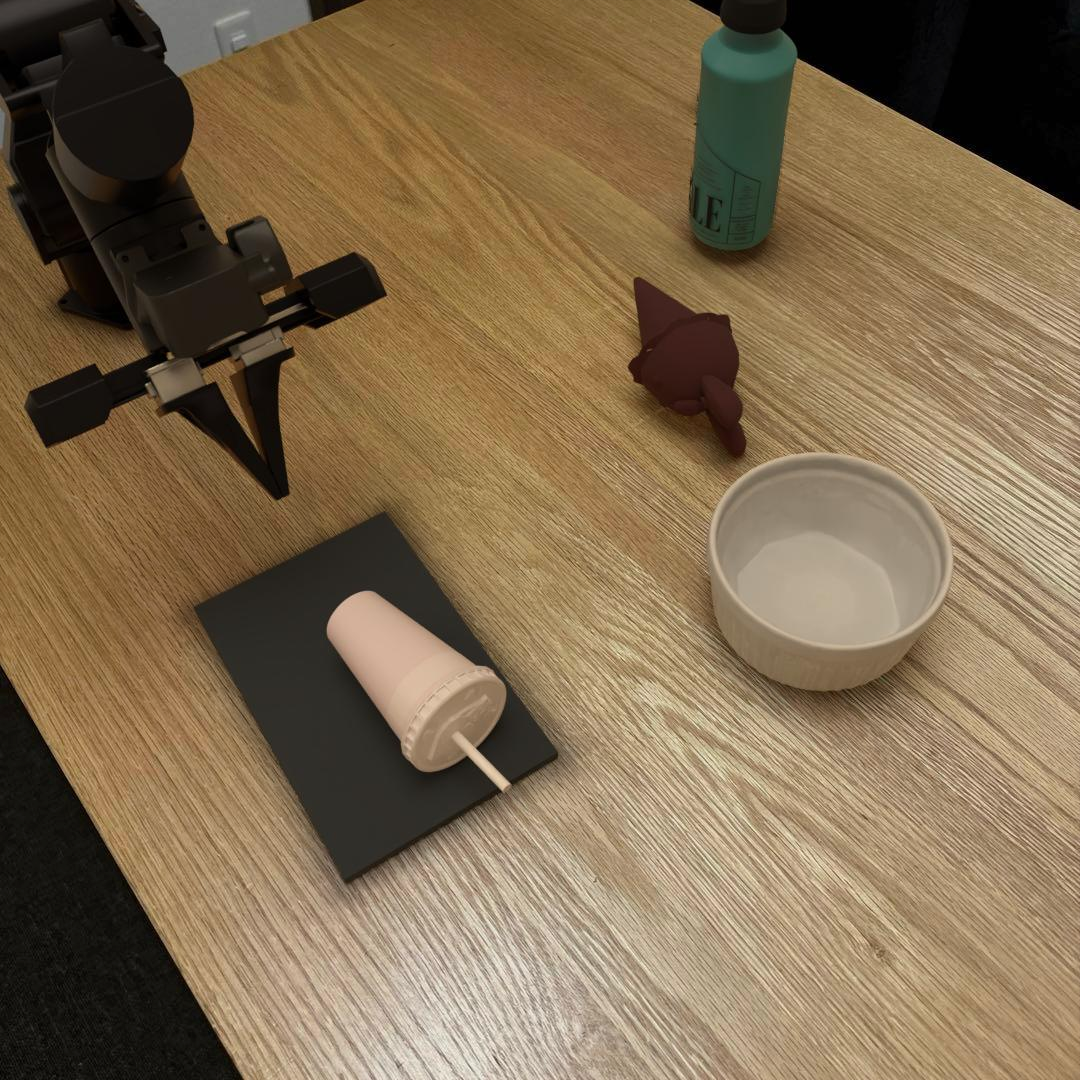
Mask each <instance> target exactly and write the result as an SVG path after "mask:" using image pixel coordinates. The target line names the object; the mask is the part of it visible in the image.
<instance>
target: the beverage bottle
mask: <svg viewBox="0 0 1080 1080" xmlns="http://www.w3.org/2000/svg"><path fill="white" fill-rule="evenodd" d="M719 11H720V12H719V18H720V21H721V23H722V24H723V26H721V27H720V28H718V29H716V30H715V31H714V32H713V33H711V34H710V35H709V36H708V37H707V38H706V39H705V41H704V42H703V44H702V46H701V49H700V51H701V52H700V61H701V62H700V74H699V75H700V76H699V85H697V86H698V89H699V91H698V94H696V98H697V99H696V102H695V105H696V106H697V107H695V108H694V109H695V113H696V114H695V116H694V119H696V122H694V123H693V125H694V126H695V136H694V146H693V153H692V155H693V162H692V164H691V166H690V171H691V172H690V173H689V174H690V178H689V187H688V188H689V190H688V203H687V204H688V205H687V206H688V213H689V214H687V217H686V218H688V220H687V221H688V224H689V226H690V228H691V231H692V233H693V234H694V236H695V237H696V239H698V240H699V241H700V242H702V243H703V244H706V245H707V246H709V247H711V248H714V249H717V250H724V251H741V250H747V249H750V248H752V247H755V246H757V245H759V244H760V243H762V242H763V241H764V240H765V239H766V238H767V237H768V235H769V233H770V231H771V229H773V228H774V226H775V224H776V222H774V221H776V217H777V216H776V215H777V210H778V203H779V197H780V196H779V195H780V186H779V183H781V180H782V179H780V178H782V176H783V175H782V173H783V171H781V169H783V168H784V165H783V164H784V163H783V162H784V161H785V158H783V155H784V154H785V152H784V148H786V145H785V144H786V143H787V142H786V137H785V136H786V128H787V120H788V115H789V109H790V107H789V106H790V100H791V93H792V88H793V87H792V86H793V79H794V73H795V68H796V67H795V66H796V64H797V60H798V50H797V47H796V44H795V43H794V42H793V40H792V39H791V37H790V36H789V35H788V34H786V32H784V31H783V30H782V29H781V27H783V25H784V24H785V22H786V20H787V11H788V9H787V0H722V2H721V5H720V10H719Z"/></svg>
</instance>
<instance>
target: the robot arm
mask: <svg viewBox="0 0 1080 1080" xmlns="http://www.w3.org/2000/svg"><path fill="white" fill-rule="evenodd" d="M167 52H168V48H167V45H166V41H165V39H164V36H163V32H162V29H161V27H160V26H159V25H158V24H157V22H155V21H154V20H153V18H152V17H151V16H150V15H149V14H148V13H147V11H145V9H144V8H143V7H142V6H141V5H140V4H139V2H138V1H136V0H0V110H1V111H2V112H3V113H4V119H3V120H4V121H3V132H2V133H3V134H2V145H1V146H2V147H1V158H2V161H3V162H4V165H5V166H6V169H7V170H8V173H9V174H10V176H11V179H12V181H13V184H10V185H7V186H6V187H5V188H6V192H7V196H8V201H9V204H10V206H11V208H12V210H13V212H14V214H15V216H16V218H17V220H18V222H19V224H20V226H21V228H22V230H23V232H24V234H25V235H26V237H27V239H28V240H29V241H30V243H31V245H32V247H33V249H34V250H35V252H36V254H37V255H38V257H39V259H40V260H41V262H42V264H43V265H44V266H47V265H50V264H52V263H53V262H54V261H56V263H57V265H58V267H59V269H60V272H61V274H62V276H63V278H64V280H65V283H66V285H67V287H68V290H66V292H65V293H63V295H62V296H61V297H60V298H58V300H57V303H56V304H57V307H58V309H59V310H60V311H62V312H65V313H69V314H72V315H75V316H78V317H82V318H84V319H88V320H92V321H94V322H98V323H101V324H104V325H107V326H110V327H114V328H117V329H120V330H123V331H129V330H131V329H134V331H135V333H136V336H137V338H138V339H139V341H140V343H141V345H142V346H143V349H144V351H145V352H146V356H144V357H141V358H138V359H137V360H134V361H132V362H129V363H127V364H125V365H122V366H121V367H118V368H116V369H113V370H111V371H109V372H107V373H106V372H105V373H104V374H102V372H101V370H100V368H99V367H98V365H97V363H96V362H94V363H91V364H89V365H87V366H84V367H82V368H80V369H78V370H75V371H73V372H71V373H68V374H66V375H64V376H60V377H58V378H57V379H54V380H52V381H50V382H48V383H45V384H43V385H40V386H38V387H36V388H33V389H31V390H28V393H27V397H26V399H25V403H24V406H23V408H24V410H25V412H26V414H27V417H29V419H30V421H31V423H32V425H33V427H34V429H35V430H36V432H37V434H38V437H39V438H40V440H41V441H42V443H43V445H44V447H45V449H48V450H49V449H51V448H54V447H56V446H58V445H61V444H63V443H65V442H68V441H69V440H72V439H74V438H77V437H78V436H79V437H80V436H81V435H83V434H85V433H87V432H89V431H92V430H94V429H96V428H98V427H102V426H104V425H105V424H106V422H107V421H108V420H109V417H110V414H111V411H113V410H114V409H117V408H119V407H121V406H124V405H126V404H128V403H131V402H133V401H135V400H137V399H139V398H142V397H144V396H147V398H148V400H152V399H153V401H154V402H155V404H156V407H157V408H155V409H154V411H155V413H156V415H157V417H158V418H159V419H161V418H163V417H166V416H167V415H170V414H172V413H177V414H178V415H180V416H181V417H182V418H183V419H185V420H187V421H188V422H189V423H190V424H192V425H193V426H194V427H195V428H197V429H198V430H199V431H201V432H202V433H203V434H204V435H205V436H207V437H208V438H209V439H210V440H212V441H213V442H214V443H215V444H217V445H218V447H220V448H221V449H222V450H223V451H224V452H225V453H226V454H228V456H229V457H230V458H231V459H232V460H233V461H234V462H235V463H236V464H237V465H238V466H239V467H240V468H241V469H242V470H243V471H244V472H245V473H246V474H247V475H248V476H249V477H250V478H251V479H252V480H253V481H254V482H255V483H256V484H257V485H258V486H259V487H260V488H261V489H262V490H263V491H264V492H265V493H266V494H267V495H268V496H269V497H270V498H271V499H272V500H274V501H277V502H278V501H280V500H282V499H283V498H287V497H288V496H290V493H291V492H290V485H289V484H290V483H289V478H288V471H287V464H286V457H285V451H284V450H285V449H284V443H283V436H282V432H281V431H282V428H281V421H280V406H279V405H280V403H279V402H280V398H279V397H280V396H279V395H280V394H279V387H280V378H281V377H280V376H281V367H282V365H283V363H285V362H286V361H288V360H291V359H293V358H295V357H296V351H295V348H294V346H291V347H288V348H287V346H286V344H285V342H284V340H285V339H286V336H285V333H288V332H291V331H292V330H296V329H297V328H300V327H302V326H304V327H306V328H309V329H312V330H314V331H316V330H318V329H320V328H323V327H325V326H327V325H329V324H331V323H334V322H336V321H339V320H340V319H343V318H345V317H347V316H350V315H353V314H354V313H357V312H358V311H360V310H363V309H365V308H367V307H369V306H370V305H373V304H375V303H377V302H378V301H380V300H382V299H384V298H386V297H387V296H388V293H387V290H386V288H385V287H384V285H383V282H382V280H381V278H380V275H379V274H378V271H377V269H376V267H375V266H374V264H373V263H372V262H371V261H370V260H369V258H368V257H365V256H364V255H362V254H359V253H358V252H356V251H353V252H350V253H347V254H346V255H343V256H341V257H338V258H335V259H334V260H332V261H329V262H327V263H325V264H322V265H319V266H317V267H315V268H313V269H310V270H308V271H306V272H303V273H301V274H299V275H296V276H295V277H294V274H293V271H292V269H291V266H290V263H289V261H288V258H287V255H286V252H285V251H284V249H283V247H282V245H281V243H280V241H279V239H278V237H277V235H276V233H275V231H274V229H273V227H272V225H271V223H270V221H269V219H268V218H267V217H265V216H263V215H261V214H259V215H258V214H257V215H256V216H253V217H251V218H249V219H246V220H244V221H241V222H239V223H236V224H233V225H230V226H229V227H227V228H226V229H225V235H226V240H227V242H225V243H223V242H221V240H220V239H219V238H218V237H217V236H216V234H215V233H214V231H213V228H212V226H211V225H210V223H209V222H208V220H207V219H206V217H205V214H204V212H203V210H202V209H201V206H200V205H199V202H198V200H197V199H196V196H195V193H193V190H192V188H191V186H190V183H189V182H188V180H187V177H186V175H185V173H184V171H183V170H182V168H183V165H184V162H185V159H186V156H187V153H188V150H189V148H190V145H191V143H192V139H193V135H194V129H195V113H194V106H193V103H192V99H191V95H190V93H189V91H188V90H189V89H188V88H187V87H186V84H185V83H184V81H183V80H182V78H181V77H180V76H178V75H177V74H176V73H175V72H174V71H173V70H172V69H171V68H170V66H169V65H168V64H166V63H165V60H166V55H165V53H167ZM280 288H282V289H283V293H284V296H282V297H280V298H277V299H275V300H273V301H270V302H268V303H266V304H264V301H263V299H262V297H263V296H264V295H266V294H269V293H272V292H273V291H275V290H278V289H280ZM169 353H170V354H171V356H172V357H173V358H170V359H169V358H168V356H169ZM225 360H228V361H229V363H230V364H232V365H233V367H234V369H235V371H236V372H235V373H233V374H231V375H229V376H228V378H229V380H230V383H231V385H232V388H233V390H234V394H235V395H236V398H237V401H238V403H239V405H240V408H241V410H242V413H243V415H244V418H245V421H246V423H247V426H248V428H249V431H250V433H251V436H252V438H253V441H254V443H255V444H254V443H253V442H252V440H251V439H250V437H249V435H248V434H247V432H246V431H245V429H244V428H243V426H242V424H241V423H240V421H238V419H237V417H236V416H235V414H234V413H233V411H232V409H231V408H230V405H229V404H228V402H227V400H226V398H225V396H224V394H223V392H222V390H221V388H220V386H219V384H218V383H217V381H216V380H214V381H212V382H210V383H208V384H207V382H206V380H205V378H204V377H203V376H204V375H205V372H204V371H203V370H205V369H207V368H209V367H212V366H213V365H216V364H218V363H220V362H223V361H225Z"/></svg>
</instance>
